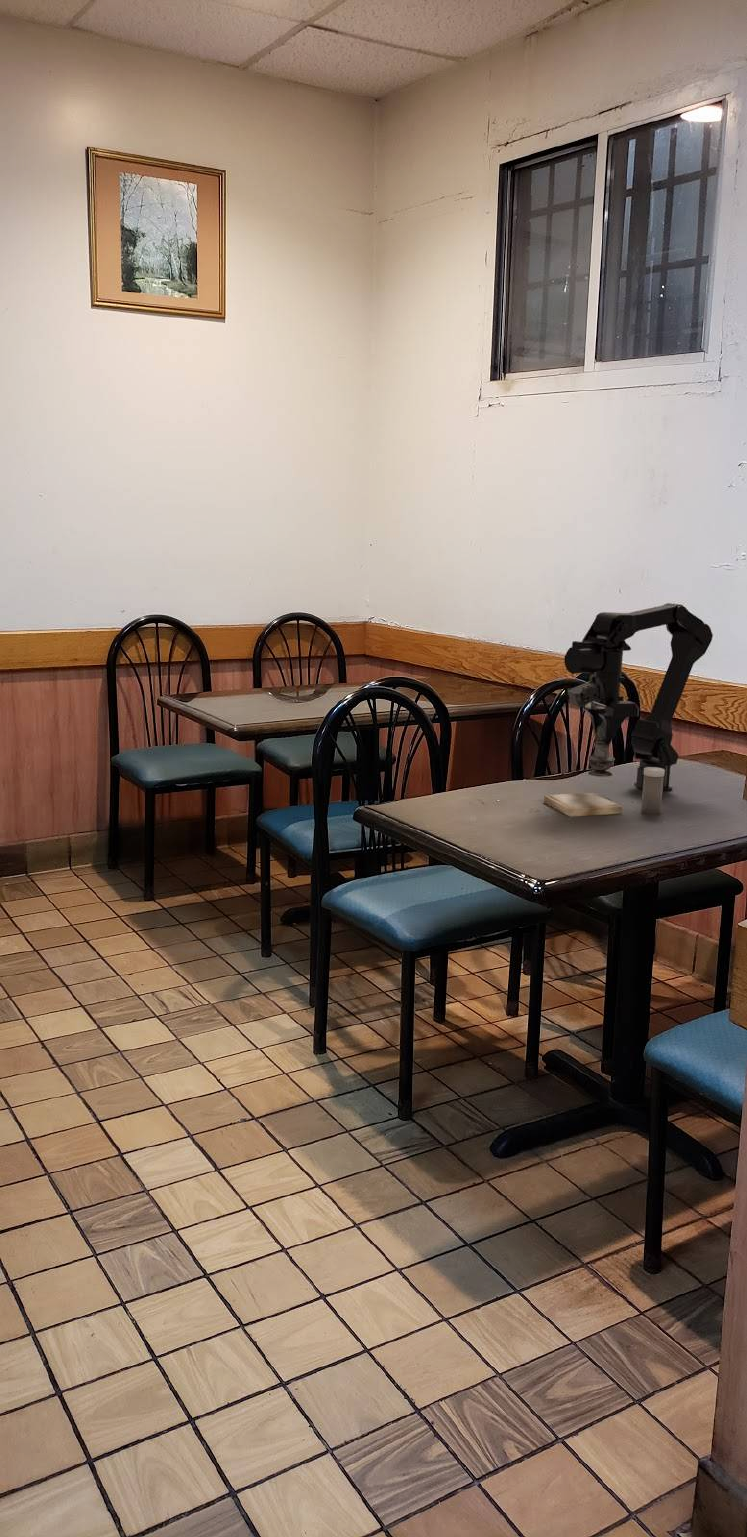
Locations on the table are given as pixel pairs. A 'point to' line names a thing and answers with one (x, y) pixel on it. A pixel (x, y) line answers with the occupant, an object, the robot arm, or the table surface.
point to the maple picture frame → (582, 804)
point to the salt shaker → (601, 756)
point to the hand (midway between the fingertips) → (602, 742)
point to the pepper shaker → (652, 790)
